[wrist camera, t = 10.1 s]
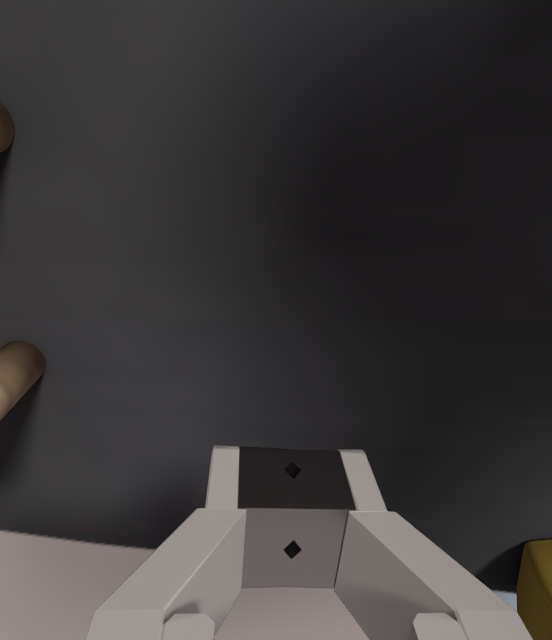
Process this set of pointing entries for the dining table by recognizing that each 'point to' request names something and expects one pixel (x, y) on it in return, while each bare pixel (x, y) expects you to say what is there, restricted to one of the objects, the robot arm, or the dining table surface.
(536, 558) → the flower pot
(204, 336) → the dining table surface
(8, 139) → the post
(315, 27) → the dining table surface
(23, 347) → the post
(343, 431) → the dining table surface
